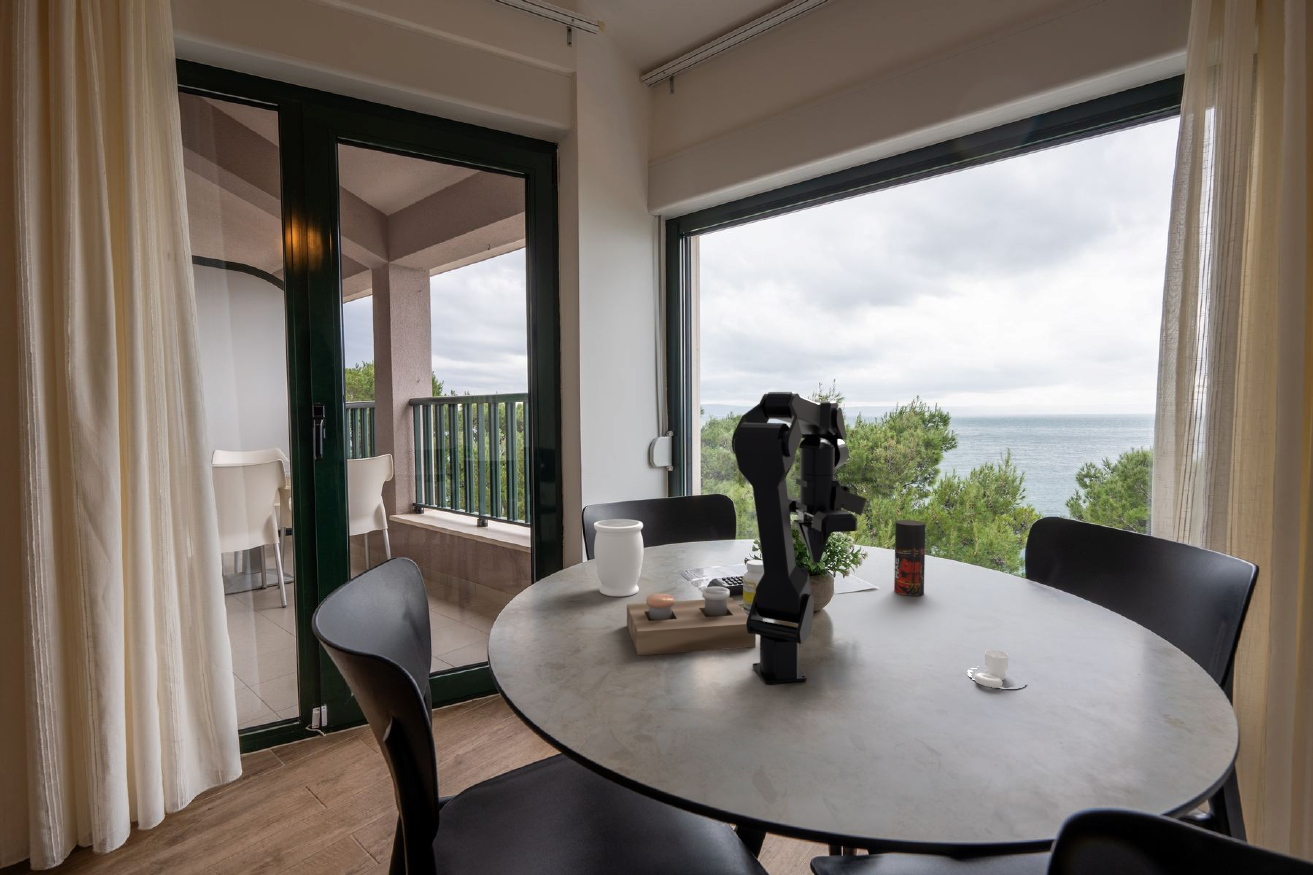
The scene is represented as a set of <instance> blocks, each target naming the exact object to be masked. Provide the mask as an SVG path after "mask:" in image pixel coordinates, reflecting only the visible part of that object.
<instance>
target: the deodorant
mask: <svg viewBox="0 0 1313 875" xmlns="http://www.w3.org/2000/svg"><path fill="white" fill-rule="evenodd" d="M894 526H895V530H894V531H895V534H894V535H895V536H894V580H893V581H894V587H893V588H894V589H893V590H894V592H895V593H896V594H897V595H901V596H908V597H921V596H923V595H925V566H926V565H925V564H926V563H925V562H926V561H925V560H926V559H925V557H926V523H925V522H924V521H922V520H921V521H920V520H915V519H913V520H911V519H899V520H896V521H895V525H894Z"/></svg>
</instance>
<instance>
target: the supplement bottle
mask: <svg viewBox="0 0 1313 875" xmlns="http://www.w3.org/2000/svg"><path fill="white" fill-rule="evenodd" d="M763 574H764V569H763V561H762V559H761V560H760V559H751V560H747V561H746V572H744V573H743V576H742V581H743V582H742V583H743V584H742V586H743V587H742V595H743V596H742V602H743V603H742V607H743V608H742V609H743V610H744V611H745V612H746V614H747V615H749V612H750V609H751V606H752V602H753V598H754V595H755V593H756V587H757V585H758V583H759V581H760V580H761V578H762V576H763Z"/></svg>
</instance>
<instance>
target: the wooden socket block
mask: <svg viewBox="0 0 1313 875" xmlns="http://www.w3.org/2000/svg"><path fill="white" fill-rule="evenodd" d="M748 615H749V614H747V613H746V612H745V611H744V610H743V608H742V607H741V606H740V605H739V603H738V602H736V601H735V600H734V599H733V597H729V598H728V599H727V614H726V615H725V616H717V617H714V616H708V615H706V614H705V599H692V600H691V599H689V600H674V605H673V606H672V619H671V620H655V621H649V606H648V605H647V604H646V602H644V603H643V602H638V603H627V604H626V627H627V631H628V632H629V635H630V638H631V641H632V644H633V646H634V649H635V652H636V654H637V656H647V655H648V656H649V655H661V654H674V653H686V652H687V653H690V652H700V651H701V652H702V651H703V652H704V651H714V650H716V651H717V650H727V649H728V650H729V649H741V648H754V647H756V645H757V643H756V642H757V640H756V637H757V636H756V634H748V631H747V625H746V622H747V618H748Z"/></svg>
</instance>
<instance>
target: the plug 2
mask: <svg viewBox="0 0 1313 875" xmlns="http://www.w3.org/2000/svg"><path fill="white" fill-rule="evenodd" d="M701 591H702V592H701V594H702V598H703V599H704V600H705V614H706V615H708V616H714V617H717V616H725V615H726V614H727V599H728V598H731V597H730V594H731V593H730V592H731V591H730V589H728V588H727V587H722V586H707V587H705V588H702V590H701Z"/></svg>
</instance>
